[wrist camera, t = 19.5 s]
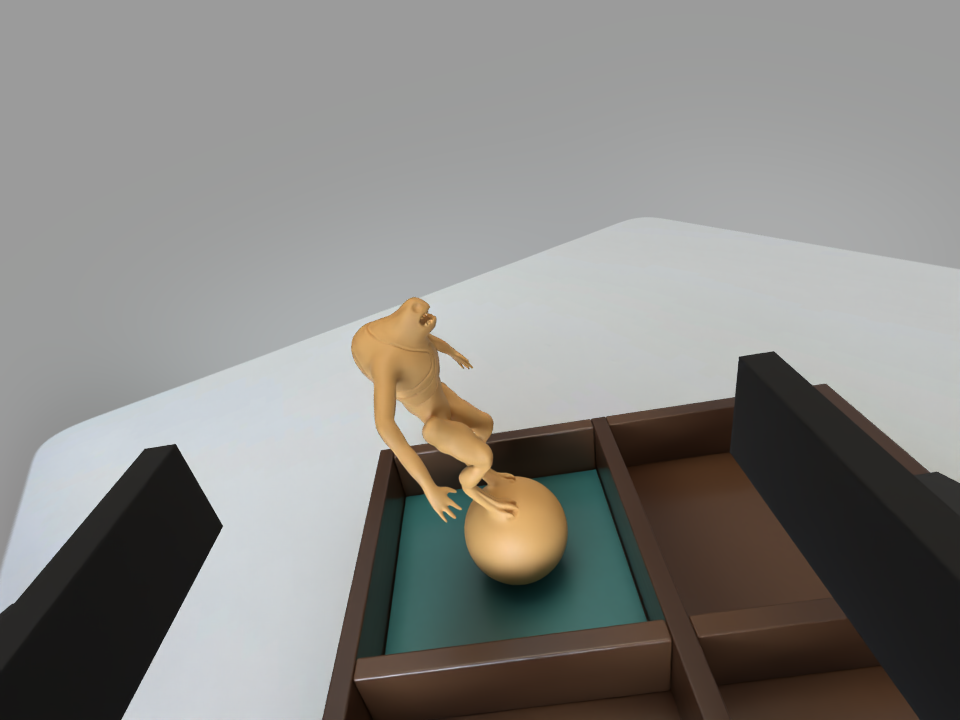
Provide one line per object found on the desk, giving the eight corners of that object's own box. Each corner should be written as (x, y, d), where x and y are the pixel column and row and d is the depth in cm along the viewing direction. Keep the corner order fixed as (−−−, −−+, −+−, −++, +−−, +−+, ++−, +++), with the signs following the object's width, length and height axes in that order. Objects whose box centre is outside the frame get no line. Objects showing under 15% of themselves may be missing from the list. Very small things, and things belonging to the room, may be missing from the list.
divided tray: (242, 1480, 8) (143, 1531, 6) (396, 498, 26) (380, 449, 25) (1768, 1419, 7) (2096, 1462, 5) (815, 437, 25) (825, 382, 24)
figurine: (587, 662, 17) (552, 348, 11) (411, 674, 18) (292, 382, 12) (560, 485, 24) (530, 238, 18) (435, 498, 25) (369, 263, 19)
